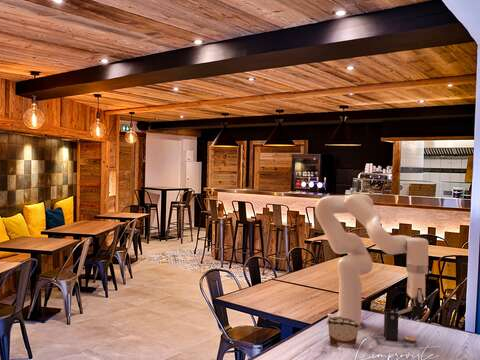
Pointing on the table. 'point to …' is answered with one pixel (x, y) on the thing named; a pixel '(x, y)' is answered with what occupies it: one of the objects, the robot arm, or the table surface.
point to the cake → (409, 339)
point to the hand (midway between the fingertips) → (416, 314)
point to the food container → (342, 330)
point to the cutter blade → (405, 310)
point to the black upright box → (391, 325)
